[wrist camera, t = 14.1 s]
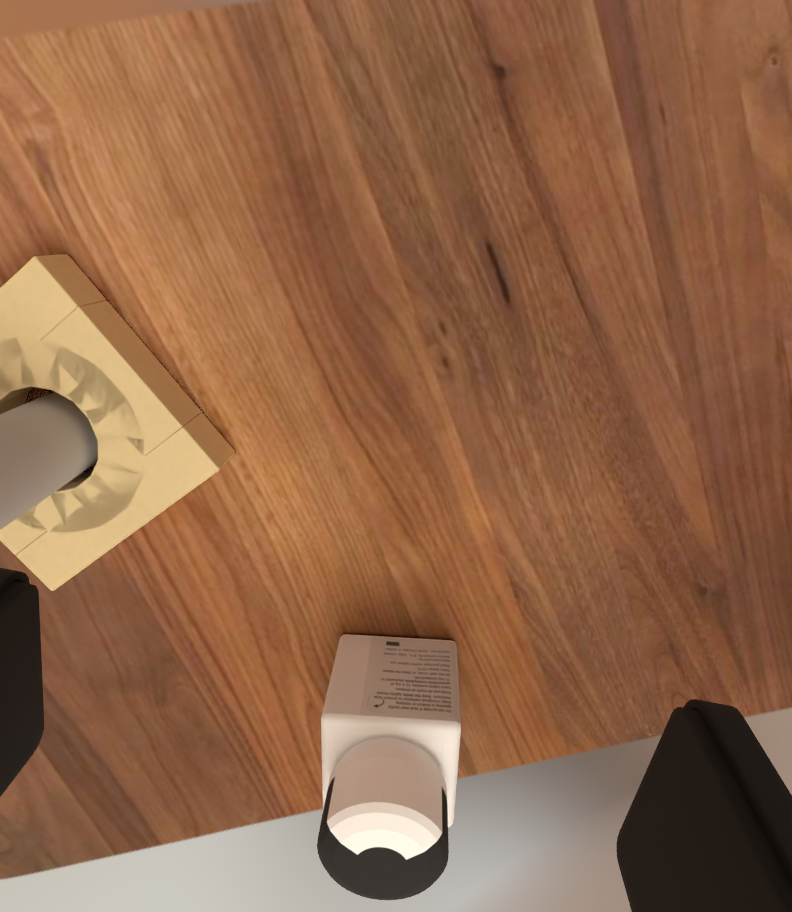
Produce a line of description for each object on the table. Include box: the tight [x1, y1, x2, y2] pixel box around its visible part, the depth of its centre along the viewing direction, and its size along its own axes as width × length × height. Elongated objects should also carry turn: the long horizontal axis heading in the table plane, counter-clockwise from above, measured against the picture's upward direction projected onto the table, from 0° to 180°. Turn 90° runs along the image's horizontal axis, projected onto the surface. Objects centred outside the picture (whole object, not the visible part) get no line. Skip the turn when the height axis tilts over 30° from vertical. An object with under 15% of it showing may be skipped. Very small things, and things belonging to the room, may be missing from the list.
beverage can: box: [0, 392, 98, 530], centre depth 31 cm, size 5×5×12 cm
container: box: [317, 634, 461, 900], centre depth 36 cm, size 8×8×13 cm
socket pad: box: [0, 254, 235, 591], centre depth 35 cm, size 14×14×3 cm
